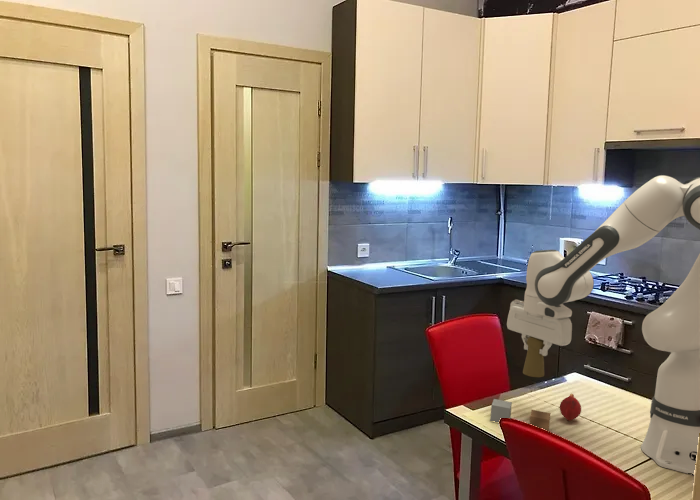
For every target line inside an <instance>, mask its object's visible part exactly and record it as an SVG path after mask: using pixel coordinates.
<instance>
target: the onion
mask: <svg viewBox="0 0 700 500" xmlns="http://www.w3.org/2000/svg"><path fill="white" fill-rule="evenodd" d="M574 395H575V394H574V393H570V394H569V396H568V397H567V396H566V397H565V398H563V399H562V400H561V402H560V404H559V411H560V415H562V417H563V418H564V419H566V421H568V422H571V421H573V420H575V419H577V418H578V417H579V416H580V415H581V413H582V406H581V403H580V401H579V400H578V399H577V398H576V397H575V396H574Z"/></svg>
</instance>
